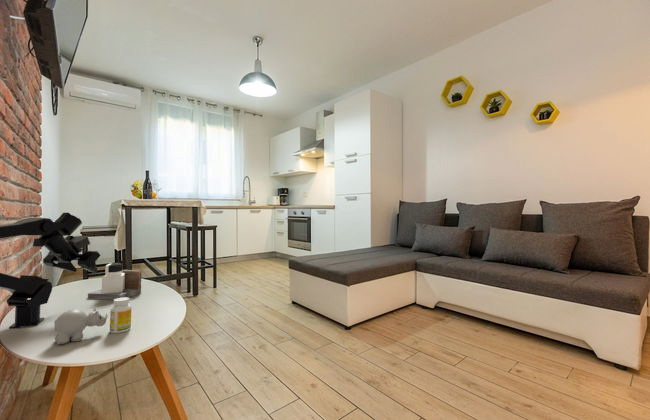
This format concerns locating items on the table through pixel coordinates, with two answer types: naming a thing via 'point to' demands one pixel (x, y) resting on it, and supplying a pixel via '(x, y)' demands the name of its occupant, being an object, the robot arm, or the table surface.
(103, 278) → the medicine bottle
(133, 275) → the wall board
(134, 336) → the table surface
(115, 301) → the supplement bottle
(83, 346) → the table surface
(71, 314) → the round bodied animal figurine
